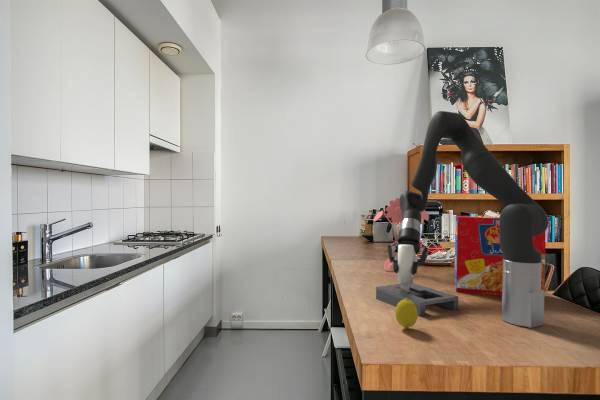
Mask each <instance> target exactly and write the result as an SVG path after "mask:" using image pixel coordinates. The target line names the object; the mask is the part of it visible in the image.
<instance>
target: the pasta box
mask: <svg viewBox="0 0 600 400" xmlns="http://www.w3.org/2000/svg"><path fill="white" fill-rule="evenodd" d="M499 220H500V216H497V217H496V216H495V217H493V216H468V215H467V216H465V215H464V216H463V215H460V216H459V215H455V229H454V231H455V232H454V233H455V234H454V235H455V236H454V239H455V241H454V276H453V277H454V279H453V281H454V284H453V285H454V287H455V288H454V289H455V290H454V291H455V292H456V293H462V294H463V293H464V294H472V295H484V296H492V297H493V296H495V297H502V279H503V253H502V250H501V248H500V233H499ZM546 232H547V230H546V231H545V232H544V233H542V234H540V235H535V236H533V245H534V247H535V249H536V250H538V251H540V252H541V256H542V260H541V290H544V293H545V292H546V290H545V287H546V282H545V281H546V241H547V239H546V234H547V233H546Z"/></svg>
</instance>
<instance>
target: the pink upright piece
mask: <svg viewBox="0 0 600 400" xmlns="http://www.w3.org/2000/svg"><path fill="white" fill-rule="evenodd" d="M388 203H389V206H387V207H386V208H385V211H386V212H387V214H386V213H385V212H384V210H381V211H379V212H377V213H376V214H375V216H374V217H373V223H375V222H376V221H378V220H379V219H381V218H382V216H383V215H384V216H385V218H386V219H387V221H388V223H390V224H391V225H396V224H399V225H398V226H397V232H398V233H399V228H400V224H401V219H402V212H401V208H400V197H399V198H398V197H395V199H391V200H389V202H388ZM420 213H421V219H423V220H425V221H427V222H429V219H430V214H429V213H428V211H426V209H425V210H424V211H423V212H420ZM390 219H391V220H390ZM394 244H397V241H395V242H393V243H391V244H389V245H391V246H393V245H394ZM393 265H394V263H393V262H390V260H389V258H387V259H386V260H385V262H384V266H383V267H384V270H385V272H386V271H388V270H391V269H392V270H393ZM378 268H381V266H380V267H378ZM386 275H389V274H388V273H386ZM392 275H393V274H392ZM414 276H415V275H413V278H415V277H414ZM392 277H395V275H393V276H392Z"/></svg>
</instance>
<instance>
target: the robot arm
mask: <svg viewBox="0 0 600 400" xmlns="http://www.w3.org/2000/svg"><path fill="white" fill-rule="evenodd" d="M442 139H446V140H450V141H451V142H453V143H454V144H455V145H456V147H457V148H458V149H459V151H460V154H461V163H462V167H463V170H464V171H465V172H466V174H467V175H468V176H469V178H470V179H471V180H472V182H474V184H475V185H476V186H478V187H479V188H480V189H482V190H483V191H484V192H486V193H487V194H489V195H490V196H492V197H493V198H494V199H496V200H497V201H499V202H500V203H501V204H502V205H503V207H504V208H503V209H502V211H501V212H500V215H499V217H500V220H499V233H500V248H501V250H502V253H503V279H502V296H501V320H503V321H504V322H507V323H508V324H512V325H515V326H520V327H526V328H528V329H529V328H530V329H531V328H532V329H533V328H538V327H539V326H544V325H545V292H544V290H541V260H542V256H541V252H540V251H538V250H536V249H535V247H534V245H533V236H535V235H540V234H542V233H544V232H545V231H546V232H547V229H548V227H549V216H548V213H547V212H546V211H545V210H544V208H543V207H542V206H541V205H539V203H538V202H536V201H535V200H534V199H533V198H532V197H531V196H530V195H529V194H528V193H527V192H526V191H525V190H523V189H522V188H521V186H520V185H519V184H518V183H517V182H516V180H515V179H514V178H513V177H512V176H511V175H510V173H509V172H508V171H507V170H506V168H504V166H503V165H502V163H501V162H500V161H499V160H498V159H497V158H496V156H495V155H494V154H493V153H492V152H491V151H490V150H489V149H488V148H487V146H486V145H485V144H484V143H483V142H482V141H481V139H480V138H479V137H478V136H477V135H476V134H475V132H474V131H473V129H472V127H471V126H470V124H469V123H468V122H467V120H466V118H465V117H464V116H463V115H462V114H460V113H458V112H453V111H444V110H441V111H440V110H439V111H436V112H434V114H433V115H432V116H431V118H430V120H429V123H428V125H427V128H426V133H425V137H424V142H423V146H422V152H421V155H420V156H421V157H420V160H419V161H418V165H417V168H416V170H415V173H414V174H413V177H412V179H411V186H412V188H414V189H416V190H418V192H420V193H417V192H415V191H411V190H404V191H403V192H402V193H401V194H400V196H399V199H400V208H401V212H402V219H401V223H399V225H400V227H399V232H398V235H397V236H398V237H397V241H396V242H397V243H395V245H390V244H388V245H387V251H388V259H389V260H390V262H393V265H392V270H393V272H394V273H395V274H398V245H400V244H407V245H413V246H414V252H413V267H412V275H413V276H416V274H417V273H418V266H423V265H425V261H426V259H427V257H428V254H429V248H428V247H426V246H425V247H424V248H423V247H421V246H420V242H421V235H422V233H421V232H422V229H421V227H422V226H421V224H422V223H421V222H422V217H421V213H420V212H423V211H424V210H425V211H426V209H427V207H428V200H429V192H430V190H431V186H432V183H433V182H434V178H435V177H436V174H437V169H438V161H437V152H438V147H439V145H440V143H441V141H442ZM395 250H396V255H395V257H394V256H393V253H394V252H395ZM418 253H420V254H421V256H420V258H419V259H417V254H418Z"/></svg>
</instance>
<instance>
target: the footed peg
mask: <svg viewBox="0 0 600 400" xmlns="http://www.w3.org/2000/svg"><path fill="white" fill-rule="evenodd" d="M413 252H414V246H413V245H407V244H400V245H398V273H397V284H401V289H402V290H405V291H408V292H409V284H412V283H414V277H413V276H414V275H412V267H413ZM410 294H411V295H414V294H412V293H410Z"/></svg>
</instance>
